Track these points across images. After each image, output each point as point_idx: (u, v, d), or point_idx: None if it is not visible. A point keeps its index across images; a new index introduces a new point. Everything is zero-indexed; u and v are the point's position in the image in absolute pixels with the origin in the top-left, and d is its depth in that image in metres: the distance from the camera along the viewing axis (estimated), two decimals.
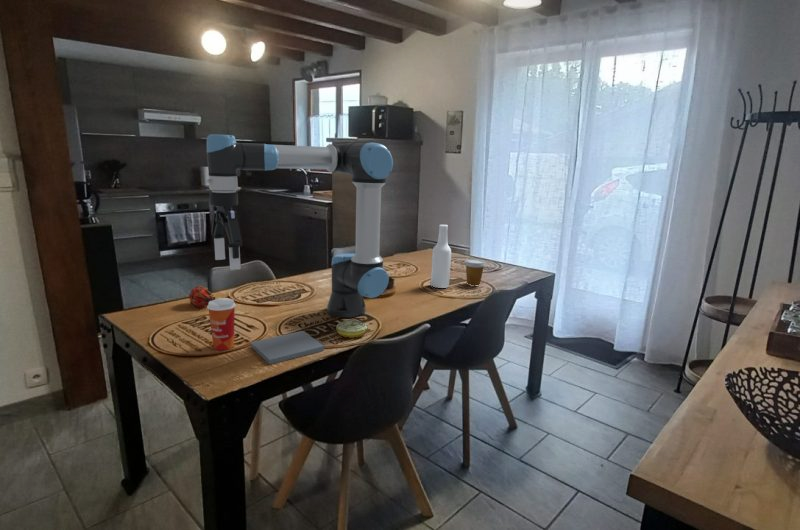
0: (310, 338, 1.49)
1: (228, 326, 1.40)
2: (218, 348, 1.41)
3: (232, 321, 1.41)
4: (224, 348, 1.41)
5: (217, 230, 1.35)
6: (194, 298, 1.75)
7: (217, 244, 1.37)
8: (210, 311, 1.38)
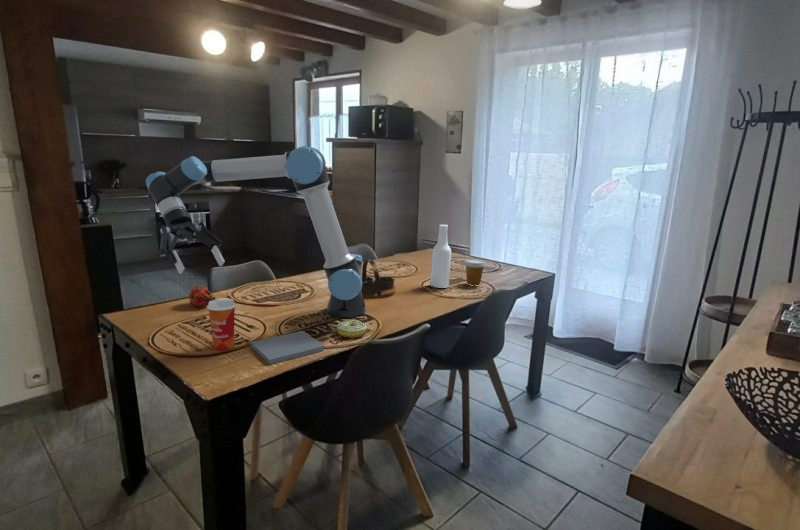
0: (310, 338, 1.49)
1: (228, 326, 1.40)
2: (218, 348, 1.41)
3: (232, 321, 1.41)
4: (224, 348, 1.41)
5: (204, 243, 1.50)
6: (194, 298, 1.75)
7: (214, 253, 1.50)
8: (210, 311, 1.38)
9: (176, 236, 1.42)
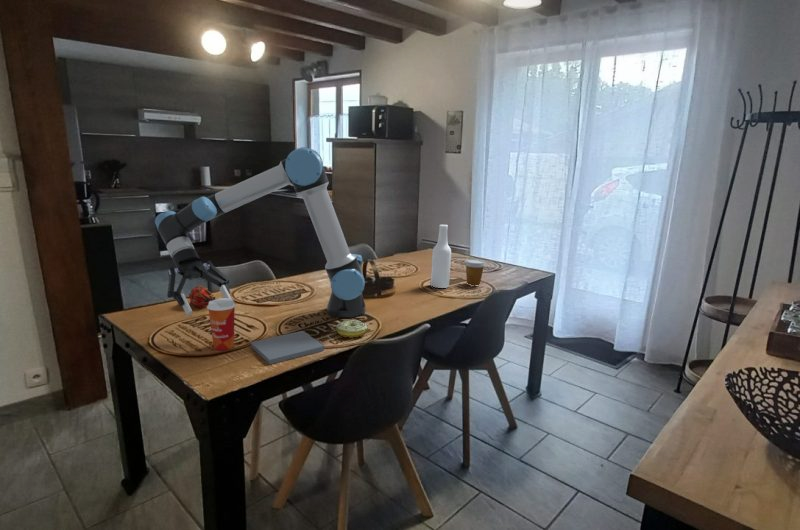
0: (310, 338, 1.49)
1: (228, 326, 1.40)
2: (218, 348, 1.41)
3: (232, 321, 1.41)
4: (224, 348, 1.41)
5: (212, 282, 1.50)
6: (194, 298, 1.75)
7: (222, 292, 1.50)
8: (210, 311, 1.38)
9: (184, 277, 1.42)
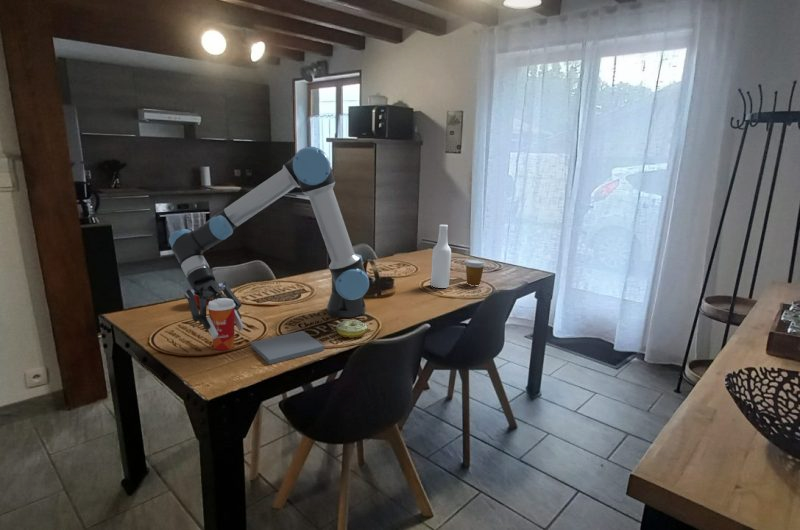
0: (310, 338, 1.49)
1: (228, 326, 1.40)
2: (218, 348, 1.41)
3: (232, 321, 1.41)
4: (224, 348, 1.41)
5: None
6: None
7: None
8: (210, 311, 1.38)
9: (204, 298, 1.40)
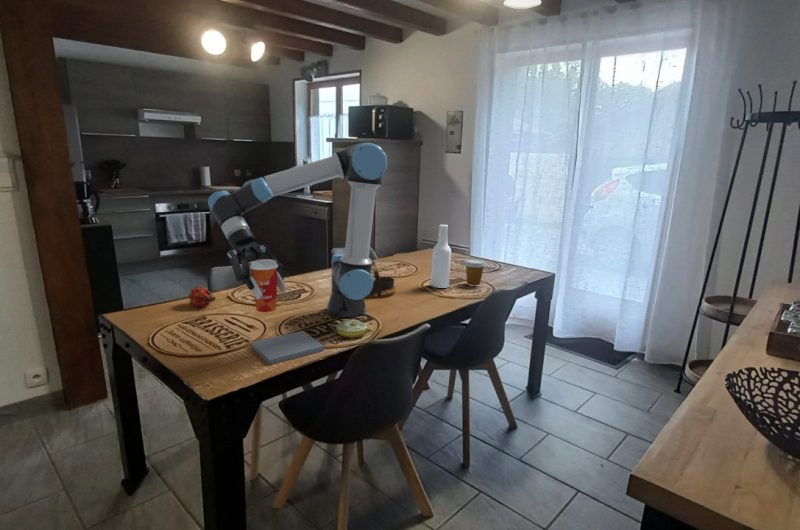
0: (310, 338, 1.49)
1: (271, 286, 1.36)
2: (261, 309, 1.38)
3: (275, 282, 1.38)
4: (267, 309, 1.38)
5: None
6: (194, 298, 1.75)
7: None
8: (253, 271, 1.35)
9: (246, 259, 1.37)
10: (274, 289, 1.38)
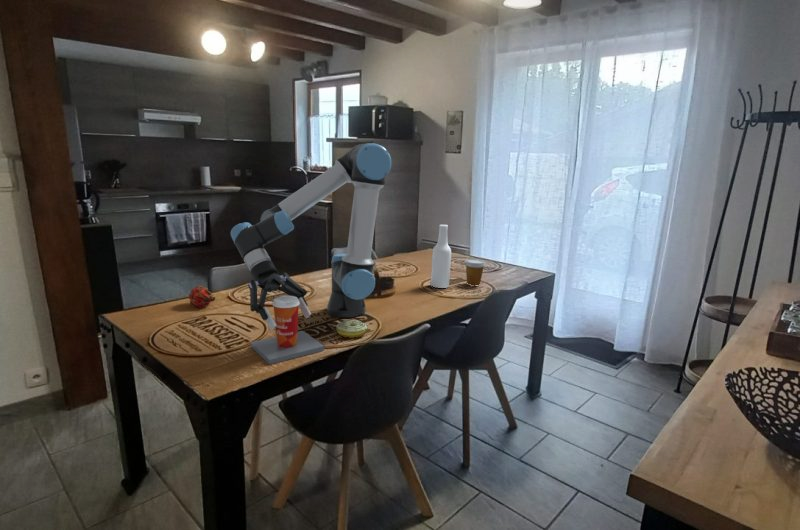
0: (310, 338, 1.49)
1: (293, 323, 1.40)
2: (283, 345, 1.41)
3: (297, 318, 1.41)
4: (289, 345, 1.41)
5: (290, 294, 1.47)
6: (194, 298, 1.75)
7: (299, 305, 1.47)
8: (276, 308, 1.38)
9: (265, 290, 1.40)
10: (295, 325, 1.41)
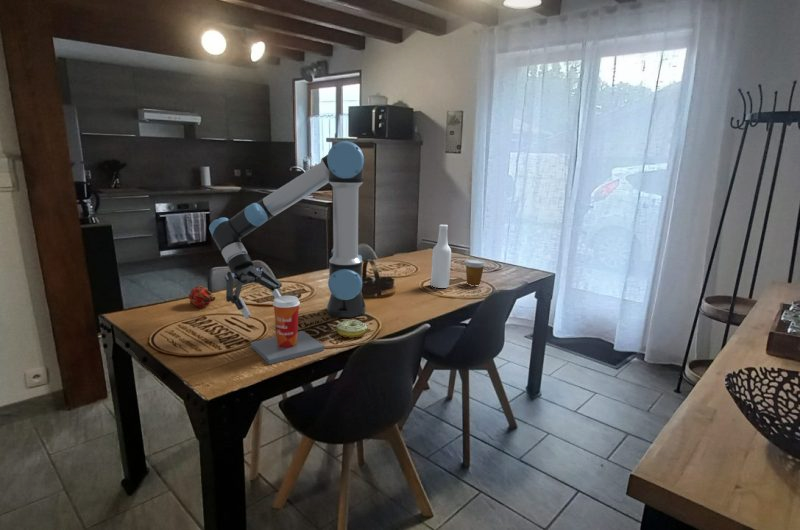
0: (310, 338, 1.49)
1: (293, 323, 1.40)
2: (283, 345, 1.41)
3: (297, 318, 1.41)
4: (289, 345, 1.41)
5: (265, 286, 1.55)
6: (194, 298, 1.75)
7: (275, 296, 1.55)
8: (276, 308, 1.38)
9: (241, 282, 1.47)
10: (295, 325, 1.41)
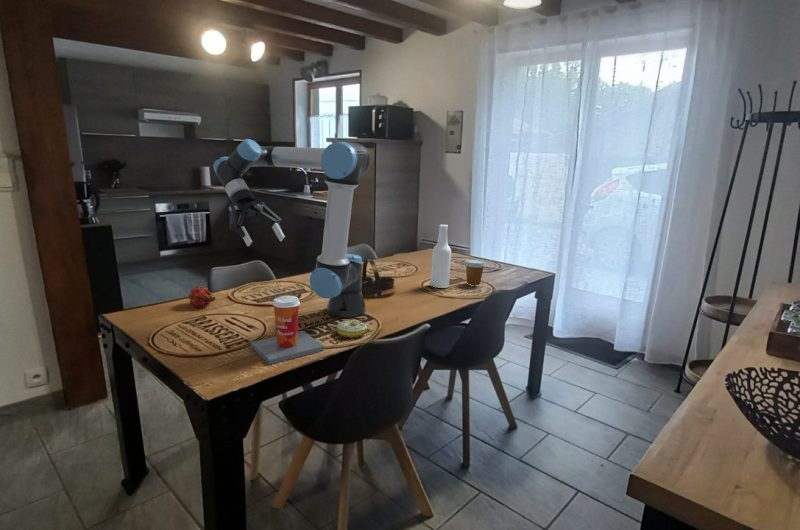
0: (310, 338, 1.49)
1: (293, 323, 1.40)
2: (283, 345, 1.41)
3: (297, 318, 1.41)
4: (289, 345, 1.41)
5: (266, 220, 1.66)
6: (194, 298, 1.75)
7: (274, 229, 1.66)
8: (276, 308, 1.38)
9: (243, 213, 1.59)
10: (295, 325, 1.41)
